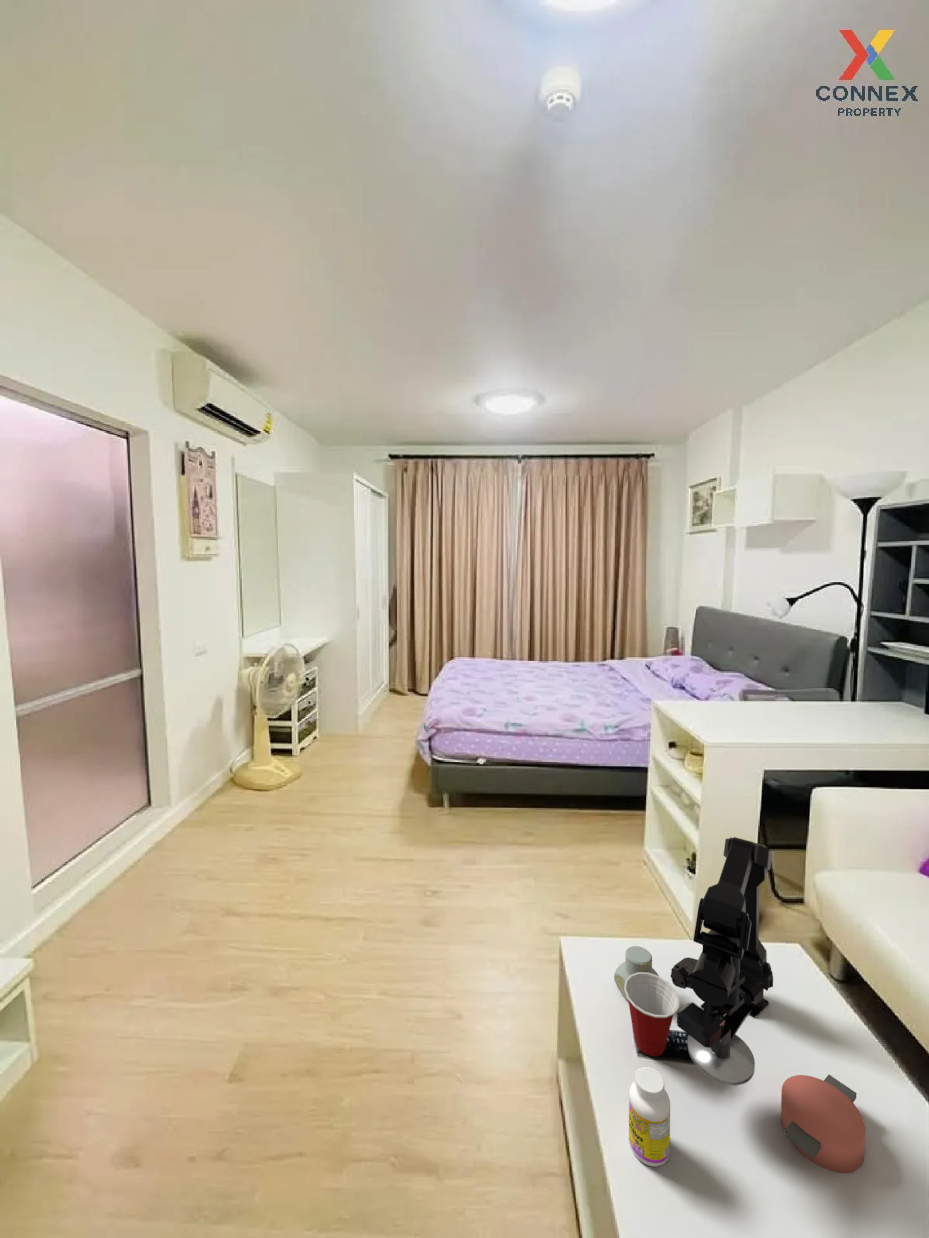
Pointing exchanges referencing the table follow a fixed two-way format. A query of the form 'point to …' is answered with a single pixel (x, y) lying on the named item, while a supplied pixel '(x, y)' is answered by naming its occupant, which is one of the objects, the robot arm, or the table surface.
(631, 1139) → the supplement bottle
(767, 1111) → the table surface
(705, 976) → the robot arm
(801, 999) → the table surface
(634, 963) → the air freshener
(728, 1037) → the lid
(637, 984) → the plastic cup
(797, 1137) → the pot
